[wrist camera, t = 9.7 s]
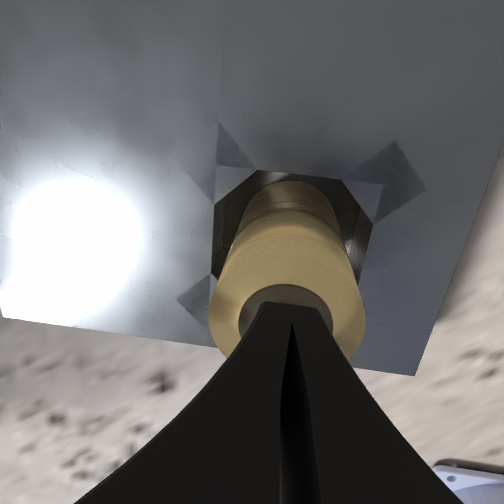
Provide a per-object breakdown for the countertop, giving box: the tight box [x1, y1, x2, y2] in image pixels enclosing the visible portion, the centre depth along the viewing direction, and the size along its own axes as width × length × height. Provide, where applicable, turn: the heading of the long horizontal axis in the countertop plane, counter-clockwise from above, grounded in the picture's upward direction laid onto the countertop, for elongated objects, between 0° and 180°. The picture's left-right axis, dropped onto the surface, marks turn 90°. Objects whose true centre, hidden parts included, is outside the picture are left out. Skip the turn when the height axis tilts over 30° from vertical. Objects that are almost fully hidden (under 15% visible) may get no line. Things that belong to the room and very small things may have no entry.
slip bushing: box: [209, 181, 366, 361], centre depth 12 cm, size 4×4×7 cm
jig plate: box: [0, 0, 504, 376], centre depth 14 cm, size 18×14×2 cm
